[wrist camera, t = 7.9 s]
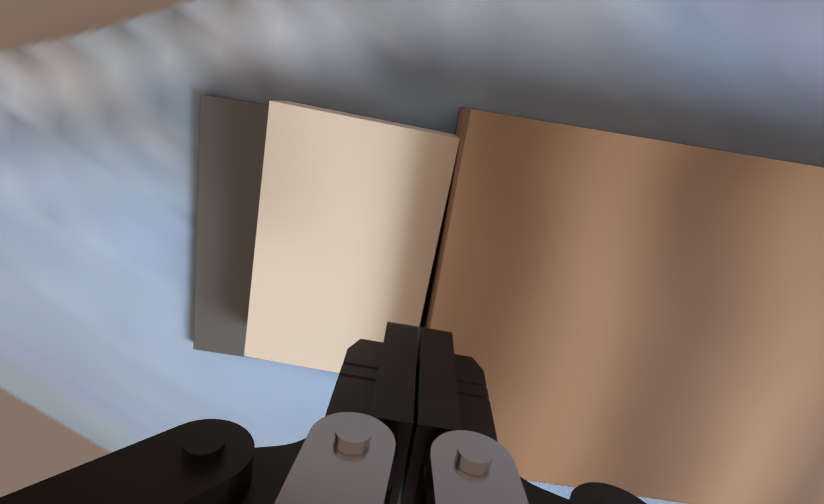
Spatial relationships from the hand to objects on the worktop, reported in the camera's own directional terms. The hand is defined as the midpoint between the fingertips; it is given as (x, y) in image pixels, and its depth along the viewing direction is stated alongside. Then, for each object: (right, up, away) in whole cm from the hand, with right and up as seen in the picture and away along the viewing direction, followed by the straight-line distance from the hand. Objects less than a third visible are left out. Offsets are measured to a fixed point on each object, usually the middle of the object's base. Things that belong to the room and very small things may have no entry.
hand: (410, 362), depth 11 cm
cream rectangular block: (-2, +3, +7) cm, 8 cm away
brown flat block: (+9, +1, +8) cm, 12 cm away
